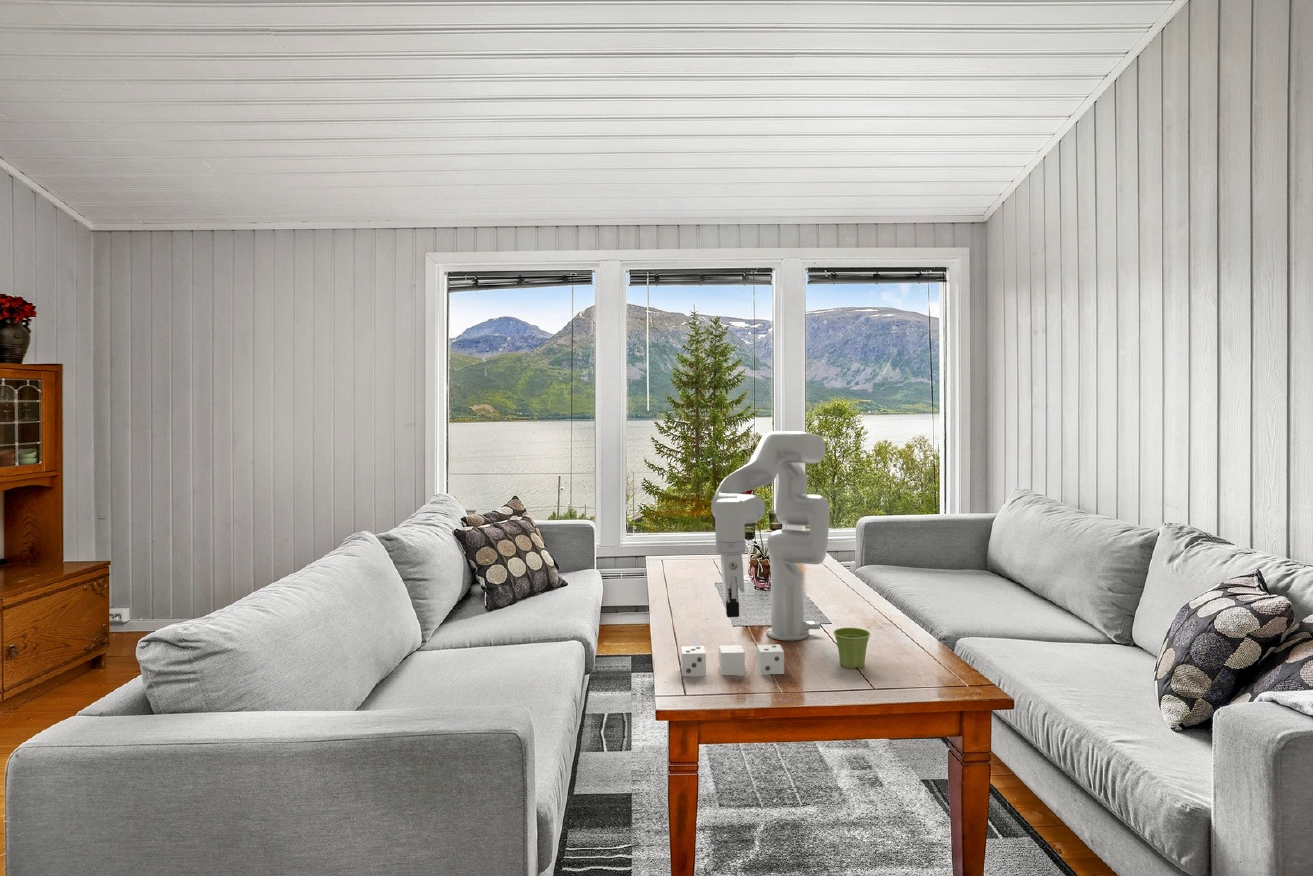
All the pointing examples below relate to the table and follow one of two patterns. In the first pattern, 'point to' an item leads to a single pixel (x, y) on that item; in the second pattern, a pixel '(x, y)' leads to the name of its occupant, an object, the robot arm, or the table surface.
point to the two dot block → (770, 659)
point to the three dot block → (693, 661)
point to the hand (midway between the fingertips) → (732, 616)
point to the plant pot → (852, 646)
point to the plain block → (732, 660)
